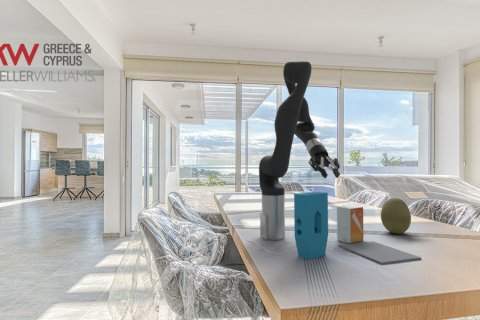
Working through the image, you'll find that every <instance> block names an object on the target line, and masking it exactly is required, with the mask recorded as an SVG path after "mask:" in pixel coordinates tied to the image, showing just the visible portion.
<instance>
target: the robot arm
mask: <svg viewBox="0 0 480 320" xmlns="http://www.w3.org/2000/svg"><path fill="white" fill-rule="evenodd" d="M282 73H283V80H284V84H285V86H286V89H287V92H288V96H287V98H285V99H284V101H282V103H281V104H280V105H279V106H278V109H277V111H276V115H275V118H274V122H273V123H274V132H275V136H276V137H275V138H276V139H275V145H274V150H273V153H272V154H271V155H270V154H269V155H265V156H263V157H261V159H260V161H259V165H258V178H259V179H258V180H259V188H260V190H261V212H260V213H259V222H260V223H259V226H260V227H259V229H260V234H259V235H260V237H261V238H263V239H264V240H270V241H271V240H272V241H273V240H274V241H277V240H278V241H279V240H283V239H285V238H286V222H285V221H286V219H285V215H286V212H285V211H286V208H285V207H286V206H285V204H286V203H285V201H286V200H285V199H286V197H285V188H284V186H283V185H281V183H280V180H279V179H280V178H283V177H284V176H286V174H287V173H288V169H289V166H290V160H291V151H292V145H293V143H294V138H295V136H296V138H298V139H299V140H300V141H301V142H302V143H303V144H304V146H305V148H306V151H307V152H308V154H309V156H310V159H309V160H308V164H309V165H310V167H311V168H312V169H313V170H314V172H319V173H320V174H321V177H323V178H324V179H327V177H328V172H327V171H326V169H325V168H327V169H328V170H331V171H332V174H333V175H334V177H335V178H336V179H338V178H340V175H341V173H340V171H339V170H340V168H341V166H340V163H339V160H338V158H336V157H335V158H332V157H330V155H329V152H328V150H327V148H326V147H325V146H324V144H323V142H322V141H321V140H320V138H319V137H318V135H317V134H316V133H315V129H316V127H315V124H314V122H313V120H312V118H311V115H310V107H309V102H308V101H307V99H306V98H305V94H306V91H307V88H308V85H309V82H310V78H311V76H312V64H311V62H310V61H307V60H291V61H287V62H285V64H284V65H283V71H282Z"/></svg>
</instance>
